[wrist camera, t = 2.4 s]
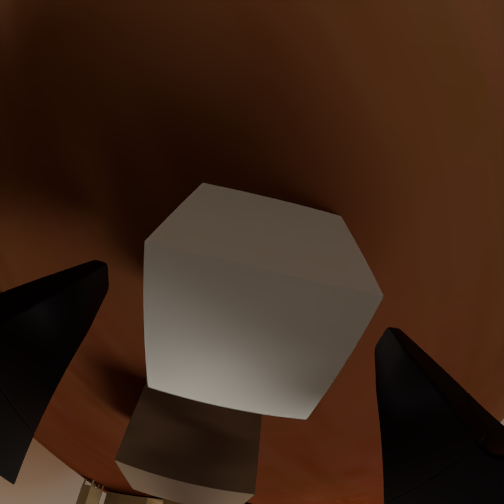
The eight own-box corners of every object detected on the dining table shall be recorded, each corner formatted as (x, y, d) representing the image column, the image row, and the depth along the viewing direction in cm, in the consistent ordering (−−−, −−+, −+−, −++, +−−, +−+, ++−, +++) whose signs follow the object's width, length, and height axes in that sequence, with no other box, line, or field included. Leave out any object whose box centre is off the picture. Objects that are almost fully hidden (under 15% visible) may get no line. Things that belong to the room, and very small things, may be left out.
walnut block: (153, 426, 19) (132, 488, 13) (148, 377, 15) (114, 460, 10) (241, 446, 19) (232, 512, 13) (262, 404, 16) (254, 494, 10)
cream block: (187, 296, 12) (148, 386, 8) (203, 182, 10) (144, 240, 5) (300, 321, 12) (306, 419, 8) (340, 215, 10) (383, 295, 6)
